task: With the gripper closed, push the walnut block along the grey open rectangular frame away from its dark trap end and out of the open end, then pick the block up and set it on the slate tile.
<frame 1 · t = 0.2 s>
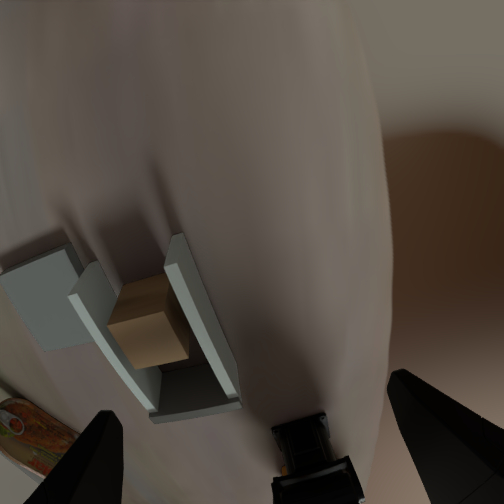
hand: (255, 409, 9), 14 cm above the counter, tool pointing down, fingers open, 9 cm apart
tile: (56, 299, 22), on the counter
tin: (52, 420, 29), on the counter
grey open rectangular frame: (167, 320, 24), on the counter
block: (157, 299, 23), resting in grey open rectangular frame
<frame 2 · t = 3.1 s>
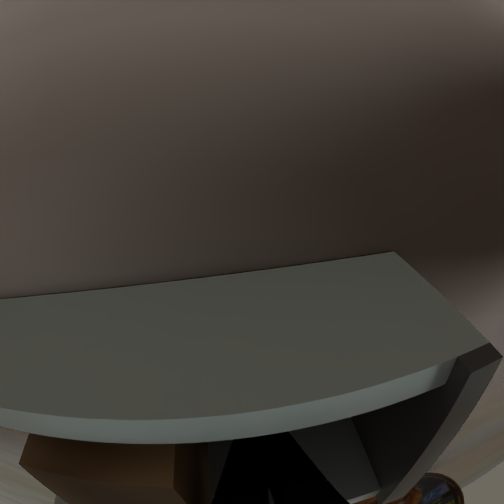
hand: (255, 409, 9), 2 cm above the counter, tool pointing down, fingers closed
tin: (371, 496, 21), on the counter
grey open rectangular frame: (197, 376, 10), on the counter
block: (141, 379, 10), resting in grey open rectangular frame, touching gripper
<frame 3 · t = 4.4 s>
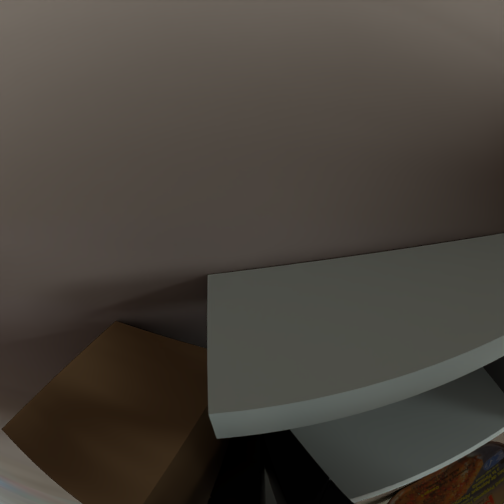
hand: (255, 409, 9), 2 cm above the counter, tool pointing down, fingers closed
tin: (437, 469, 21), on the counter
grey open rectangular frame: (400, 338, 10), on the counter
block: (182, 385, 9), point 1 cm above the counter, tilted 27°, touching gripper
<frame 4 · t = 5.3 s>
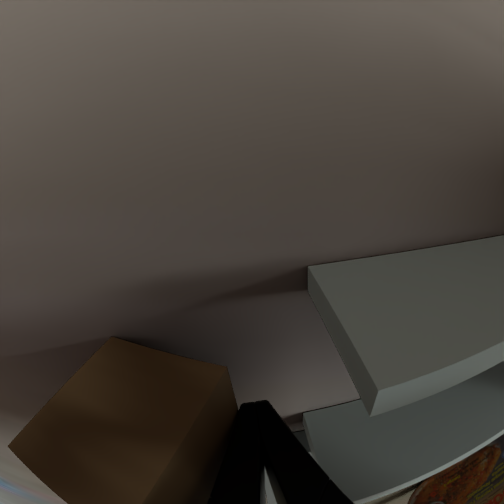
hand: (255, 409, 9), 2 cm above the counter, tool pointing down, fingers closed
tile: (334, 457, 14), on the counter
tin: (457, 459, 21), on the counter
grey open rectangular frame: (453, 325, 11), on the counter
block: (180, 395, 9), point 1 cm above the counter, tilted 27°, touching gripper
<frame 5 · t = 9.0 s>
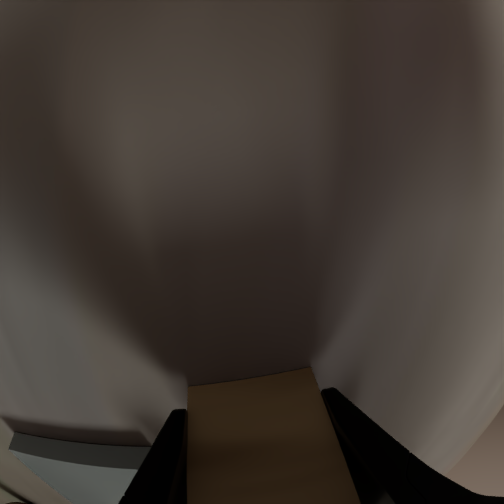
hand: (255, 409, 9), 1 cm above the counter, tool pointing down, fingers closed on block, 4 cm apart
tile: (108, 478, 12), on the counter
block: (256, 412, 10), on the counter, touching gripper
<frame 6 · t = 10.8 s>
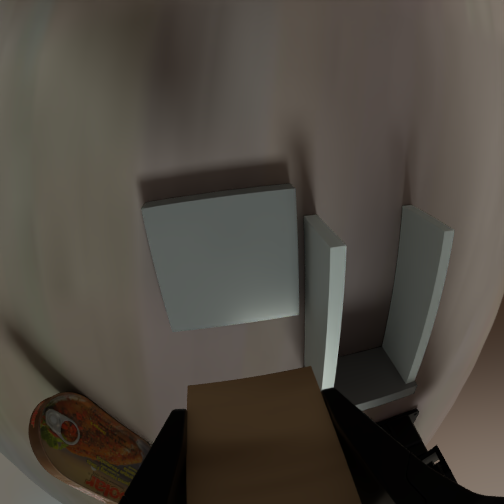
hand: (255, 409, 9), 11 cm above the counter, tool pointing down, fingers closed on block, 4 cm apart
tile: (226, 258, 18), on the counter
tin: (107, 422, 25), on the counter
grey open rectangular frame: (356, 298, 21), on the counter
block: (256, 412, 10), point 10 cm above the counter, touching gripper
when the fingers open (3 cm above the counter, at t = 12.5 s): block drops 1 cm, resting on tile.
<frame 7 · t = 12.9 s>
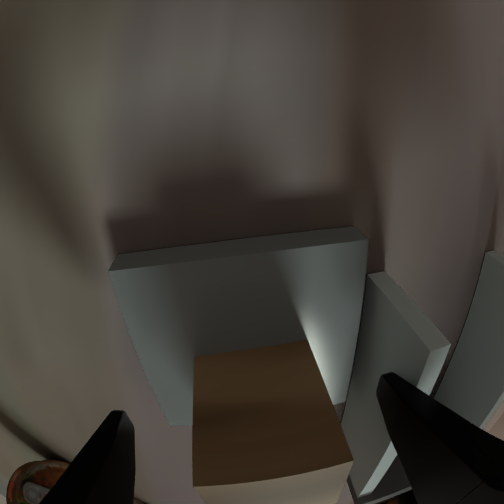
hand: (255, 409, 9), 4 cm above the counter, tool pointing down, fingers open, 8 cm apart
tile: (247, 335, 12), on the counter
tin: (97, 483, 18), on the counter
grey open rectangular frame: (413, 368, 14), on the counter
block: (256, 385, 11), point 1 cm above the counter, touching tile
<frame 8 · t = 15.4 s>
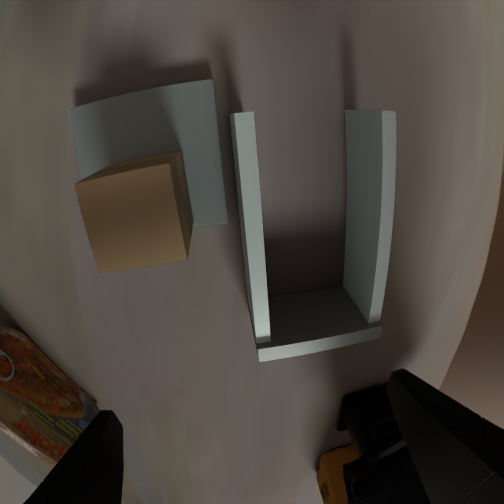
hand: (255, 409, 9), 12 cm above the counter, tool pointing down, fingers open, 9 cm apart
tile: (150, 160, 17), on the counter
tin: (51, 370, 23), on the counter
coffee package: (347, 458, 35), on the counter
grey open rectangular frame: (301, 216, 19), on the counter
block: (152, 192, 16), point 1 cm above the counter, touching tile
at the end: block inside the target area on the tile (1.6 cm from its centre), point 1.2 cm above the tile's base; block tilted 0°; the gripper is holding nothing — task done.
